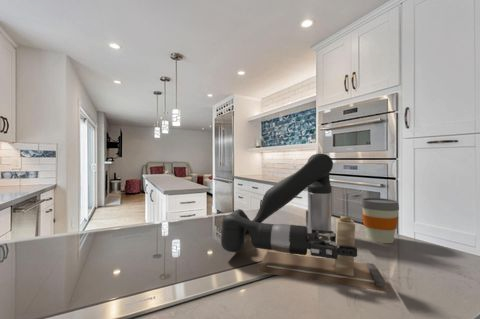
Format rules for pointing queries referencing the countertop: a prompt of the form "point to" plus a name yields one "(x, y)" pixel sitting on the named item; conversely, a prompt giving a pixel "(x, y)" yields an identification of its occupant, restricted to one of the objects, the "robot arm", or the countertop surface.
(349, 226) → the wooden pepper mill
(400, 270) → the countertop surface
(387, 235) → the reusable coffee cup
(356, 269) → the walnut board
